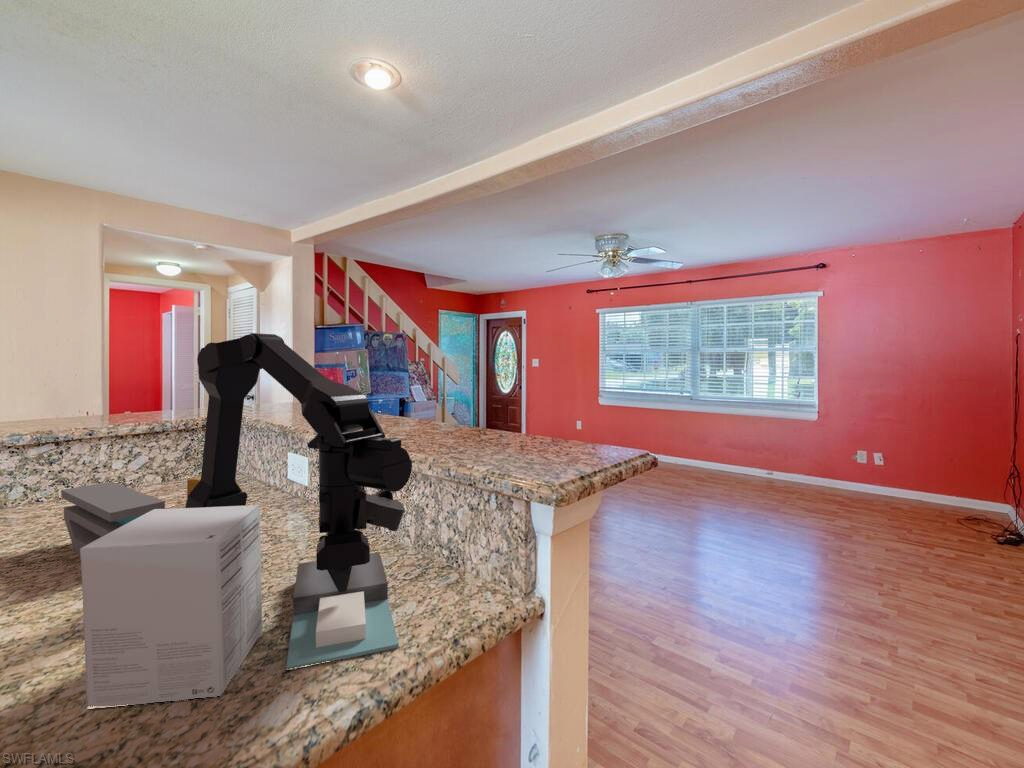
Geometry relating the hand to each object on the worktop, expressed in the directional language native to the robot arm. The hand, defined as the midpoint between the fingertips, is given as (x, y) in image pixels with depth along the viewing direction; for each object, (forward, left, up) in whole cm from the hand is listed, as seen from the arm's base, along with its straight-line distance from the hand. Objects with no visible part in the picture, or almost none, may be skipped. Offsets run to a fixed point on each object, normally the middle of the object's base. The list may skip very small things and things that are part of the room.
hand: (342, 590), depth 66 cm
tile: (0, -2, -3) cm, 3 cm away
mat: (0, -4, -4) cm, 5 cm away
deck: (0, +8, -4) cm, 9 cm away
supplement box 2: (-29, +53, -4) cm, 61 cm away
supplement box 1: (-18, -4, -4) cm, 19 cm away
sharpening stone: (-40, +40, -4) cm, 57 cm away
